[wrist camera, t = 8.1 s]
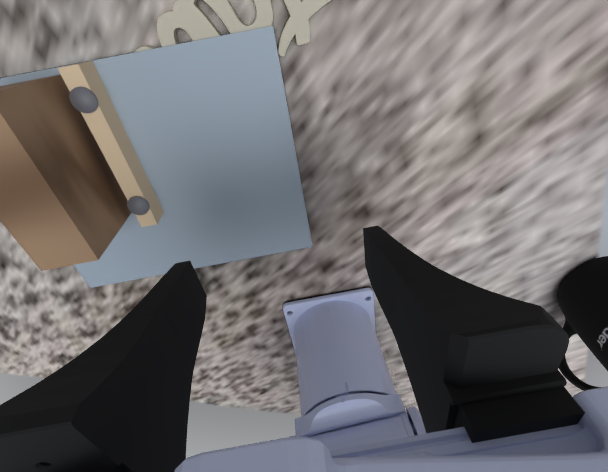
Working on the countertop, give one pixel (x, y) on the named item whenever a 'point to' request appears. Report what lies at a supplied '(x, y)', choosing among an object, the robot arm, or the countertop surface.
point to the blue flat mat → (192, 153)
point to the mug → (586, 312)
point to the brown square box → (55, 177)
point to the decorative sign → (234, 21)
